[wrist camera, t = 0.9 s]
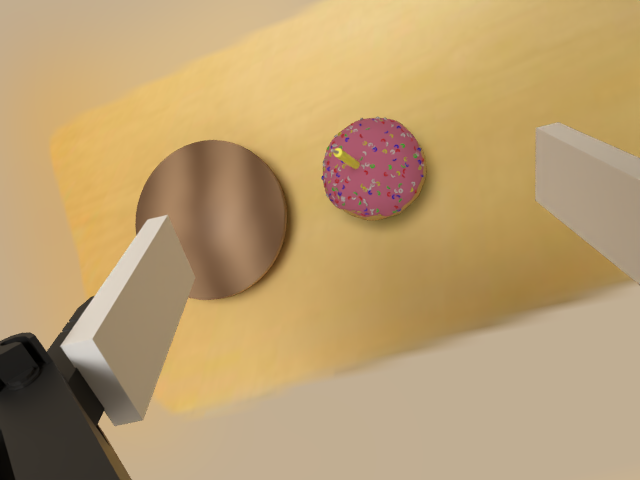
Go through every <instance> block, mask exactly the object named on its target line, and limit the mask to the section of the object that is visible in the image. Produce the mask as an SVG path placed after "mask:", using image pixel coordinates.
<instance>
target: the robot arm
mask: <svg viewBox="0 0 640 480" xmlns="http://www.w3.org/2000/svg"><path fill="white" fill-rule="evenodd" d="M535 201H537V202H538V203H539V204H540V205H541V206H543V207H544V208H545V209H546V210H548V211H549V212H550V213H551V214H553V215H554V216H555V217H556V218H558V219H559V220H560V221H561V222H563V223H564V224H565V225H566V226H567V227H569V228H570V229H571V230H572V231H574V232H575V233H576V234H577V235H579V236H580V237H581V238H582V239H584V240H585V241H586V242H587V243H588V244H590V245H591V246H592V247H593V248H595V249H596V250H597V251H598V252H600V253H601V254H602V255H603V256H605V257H606V258H607V259H608V260H609V261H611V262H612V263H613V264H614V265H616V266H617V267H618V268H619V269H621V270H622V271H623V272H624V273H626V274H627V275H628V276H629V277H630V278H632V279H633V280H634V281H635V282H637V283H638V284H639V285H640V158H638V157H636V156H634V155H632V154H629V153H627V152H625V151H623V150H620V149H618V148H616V147H613V146H611V145H609V144H607V143H604V142H602V141H600V140H598V139H595V138H593V137H591V136H589V135H586V134H584V133H582V132H579V131H577V130H575V129H573V128H570V127H568V126H566V125H564V124H561V123H559V122H558V123H554V124H550V125H545V126H541V127H537V128H536V185H535ZM194 280H195V275H194V273H193V271H192V269H191V266H190V264H189V262H188V259H187V257H186V255H185V253H184V250H183V248H182V246H181V244H180V241H179V239H178V237H177V235H176V232H175V230H174V228H173V225H172V223H171V221H170V219H169V216H168V215H165V216H161V217H156V218H152V219H148V220H147V221H146V223H145V224H144V225H143V227H142V228H141V230H140V231H139V233H138V234H137V236H136V237H135V238H134V240H133V241H132V243H131V244H130V246H129V247H128V249H127V250H126V252H125V253H124V254H123V256H122V257H121V259H120V260H119V262H118V263H117V265H116V266H115V267H114V269H113V270H112V272H111V273H110V275H109V276H108V278H107V279H106V280H105V282H104V283H103V285H102V286H101V288H100V289H99V291H98V292H97V294H96V295H95V296H92V297H91V298H89V299H88V300H87V301H86V302H85V303H84V304H82V305H81V306H80V307H79V308H78V309H77V310H76V312H75V313H74V315H73V316H72V317H71V319H70V320H69V321H70V322H69V323H67V324H66V326H65V327H64V328H63V330H62V331H63V332H61V333H60V334H59V335H58V337H57V338H56V339H55V341H54V342H53V344H52V345H51V346H50V348H49V349H48V351H47V352H46V351H45V349H44V347H43V346H42V345H41V343H40V342H39V340H38V339H37V338H36V336H35V335H34V334H32V333H20V334H16V335H13V336H10V337H8V338H6V339H4V340H2V341H0V480H132V479H131V478H130V476H129V474H128V473H127V471H126V469H125V468H124V466H123V464H122V463H121V461H120V460H119V458H118V456H117V454H116V453H115V451H114V449H113V448H112V446H111V444H110V443H109V441H108V439H107V438H106V436H105V434H104V433H103V431H102V430H101V428H100V427H99V425H98V422H99V420H100V418H101V416H102V414H103V411H105V413H106V414H107V416H108V417H109V418H110V420H111V421H112V423H113V424H114V426H117V425H122V424H127V423H132V422H137V421H142V420H143V419H144V416H145V414H146V411H147V408H148V405H149V403H150V400H151V397H152V394H153V392H154V389H155V386H156V384H157V381H158V378H159V375H160V373H161V370H162V367H163V364H164V362H165V359H166V356H167V354H168V351H169V348H170V345H171V343H172V340H173V337H174V334H175V332H176V329H177V326H178V324H179V321H180V318H181V315H182V313H183V310H184V307H185V304H186V302H187V299H188V296H189V294H190V291H191V288H192V285H193V283H194Z"/></svg>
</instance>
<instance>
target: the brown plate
mask: <svg viewBox="0 0 640 480" xmlns="http://www.w3.org/2000/svg"><path fill="white" fill-rule="evenodd" d="M165 215H168V216H169V219H170V221H171V223H172V225H173V228H174V230H175V232H176V235H177V237H178V239H179V241H180V244H181V246H182V248H183V250H184V253H185V255H186V257H187V259H188V262H189V264H190V266H191V269H192V271H193V273H194V275H195V280H194V283H193V285H192V288H191V291H190V294H189V296H188V297H189V298H194V299H200V300H211V299H220V298H226V297H229V296H233V295H236V294H238V293H240V292H243V291H244V290H246V289H248V288H249V287H251V286H253V285H254V284H255V283H256V282H258V281H259V280H260V279H261V278H262V277H263V276H264V275H265V274H266V273H267V272H268V270H269V269H270V268H271V266H272V265H273V263H274V262H275V260H276V258H277V256H278V254H279V252H280V250H281V247H282V245H283V241H284V237H285V233H286V225H287V210H286V202H285V198H284V194H283V191H282V189H281V186H280V184H279V182H278V180H277V178H276V176H275V175H274V173H273V172H272V171H271V169H270V168H269V167H268V166H267V165H266V164H265V163H264V162H263V161H262V160H261V159H260V158H259V157H257V156H256V155H255V154H253V153H252V152H251V151H249V150H247V149H245V148H244V147H242V146H239V145H237V144H234V143H230V142H226V141H218V140H208V141H200V142H195V143H192V144H189V145H186V146H184V147H182V148H180V149H178V150H176V151H175V152H173V153H172V154H170V155H169V156H168V157H167V158H165V159H164V160H163V161H162V162H161V163H160V164H159V165H158V166H157V167H156V168H155V170H154V171H153V172H152V174H151V175H150V177H149V178H148V180H147V182H146V184H145V185H144V188H143V190H142V193H141V195H140V198H139V202H138V206H137V212H136V236H137V234H138V233H139V231H140V230H141V228H142V227H143V225H144V224H145V223H146V221H147V220H148V219H152V218H156V217H161V216H165Z"/></svg>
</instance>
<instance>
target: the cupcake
mask: <svg viewBox="0 0 640 480" xmlns="http://www.w3.org/2000/svg"><path fill="white" fill-rule="evenodd" d="M334 137H335V138H334V139H333V140H332V141H331V143H330V145H329V147H328V148H327V151H326V154H325V158H324V161H323V176H322V180H323V182H324V187H325V191H326V196H327V197H329V199H330V200H331V202H332V203H333V204H334V205H335V206H336V207H338V208H340V209H343V210H344V211H346V212H347V213H349V214H350V215H353V216H356V217H359V218H362V219H365V220H379V219H383V218H387V217H389V216H393V215H397V214H399V213H401V212H402V211H403V210H404V209H405V208H406V207H408V206H409V205H410V204H411V203H412V202H413V201H414V200H415V199H416V198H417V197H418V195H419V193H420V191H421V189H422V186H423V183H424V180H425V177H426V160H425V156H424V153H423V150H422V148H421V147H420V145H419V144H418V142H417V141H416V139H415V137H414V136H413V135H412V134H411V133H410V132H409V130H408V129H407V128H406V127H404V126H403V125H402V124H401V123H399V122H397V121H395V120H392V119H386V118H380V117H376V118H369V119H363V118H361V119H360V120H358V121H356V122H354V123H352V124H351V125H349V126H348V127H347V128H345V129H344V130H342V131H341V132H340V133H338V135H335V136H334Z"/></svg>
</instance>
